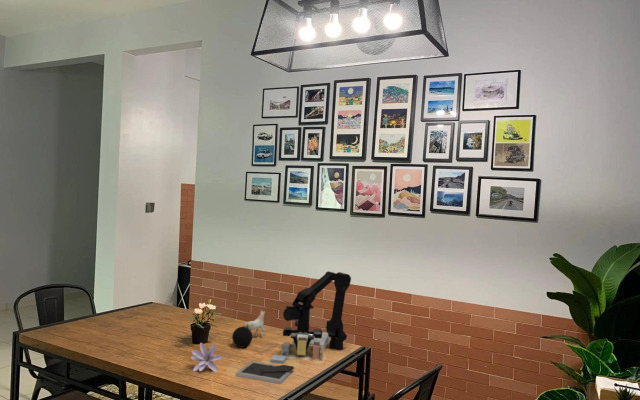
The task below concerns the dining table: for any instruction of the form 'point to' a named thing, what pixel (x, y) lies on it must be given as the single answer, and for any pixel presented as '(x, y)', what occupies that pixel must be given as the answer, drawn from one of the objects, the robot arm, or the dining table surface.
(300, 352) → the olive yellow block
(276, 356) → the blue book lying
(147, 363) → the dining table surface
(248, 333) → the decorative ball
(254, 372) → the picture frame
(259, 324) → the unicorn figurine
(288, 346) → the bookend
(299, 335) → the skincare box
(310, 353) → the shelf tray
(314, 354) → the salmon pink box
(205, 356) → the water lily
